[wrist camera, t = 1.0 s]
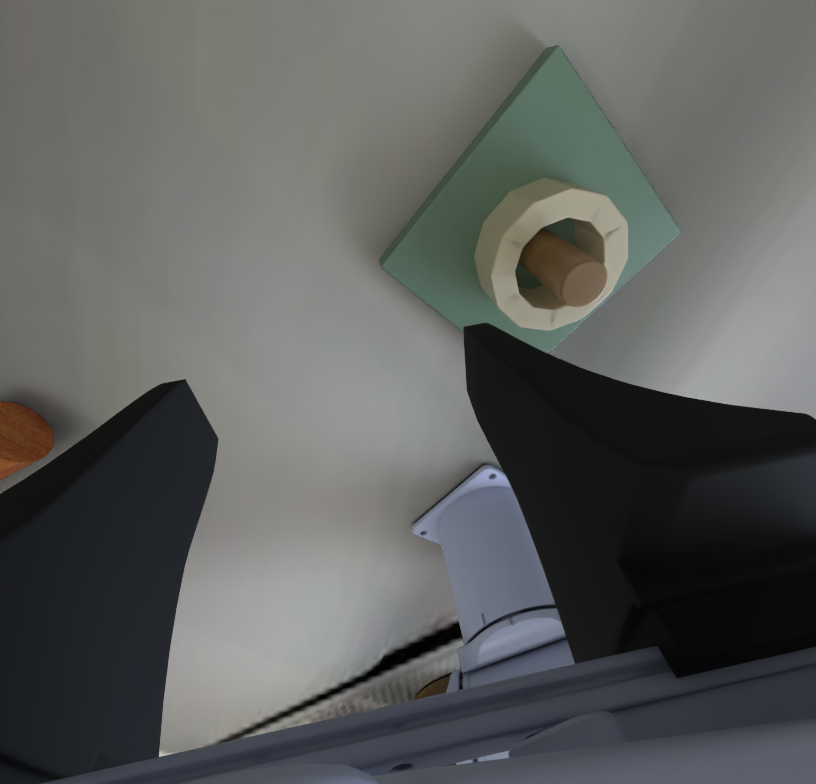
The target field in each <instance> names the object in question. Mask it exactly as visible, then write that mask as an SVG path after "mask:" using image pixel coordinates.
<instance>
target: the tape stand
mask: <svg viewBox="0 0 816 784" xmlns="http://www.w3.org/2000/svg"><path fill="white" fill-rule="evenodd" d="M541 178H550V179H554V180H559V181H563V182H568V183H573V184H577V185H580V186H583V187H586V188H588V189H591V190H594V191H597V192H600V193H603V194H606V195H607V196H608V197H609V198H610V199H611V201H612V202H613V203H614V205H615V206H616V207H617V209H618V210H619V211H620V213H621V214H622V216H623V217H624V218H625V220H626V221H627V223H628V259H627V262H626V264H625V266H624V268H623V270H622V272H621V274H620V276H619V278H618V280H617V282H616V284H615V286H614V288H613V290H612V292H611V293H610V294H609V295H608V296H607V297H606V298H605V299H604V300H603V301H602V302H601V303H599V304H598V305H597V306H596V307H595V308H594V309H593V310H592V311H591V312H590V313H589V314H587V315H586V316H585V317H584V318H582V319H580V320H578V321H575V322H572V323H569V324H567V325H564V326H561V327H559V328H556V329H553V330H550V331H547V330H539V329H530V328H522V327H519V326H517V325H516V324H515V323H514V322H513V321H512V320H511V319H510V318H508V317H507V316H506V315H505V314H504V313H503V312H502V311H500V310H499V309H498V308H497V306H496V305H495V304H494V303H493V301H492V300H491V299H490V298H489V296H488V295H487V294H486V292H485V291H484V290H483V289H482V287H481V286H480V282H479V278H478V273H477V269H476V265H475V261H474V254H475V250H476V247H477V243H478V239H479V236H480V232H481V229H482V225H483V223H484V221H485V219H486V218H487V217H488V216H489V215H490V213H491V212H492V211H493V210H494V209H495V208H496V207H497V205H498V204H499V203H500V202H501V201H502V200H503V199H504V197H505V196H506V195H507V194H508V193H509V192H510V191H512V190H514V189H517V188H519V187H522V186H524V185H526V184H529V183H531V182H534V181H536V180H539V179H541ZM680 232H681V230H680V228H679V227H678V225H677V224H676V222H675V221H674V219H673V218H672V216H671V215H670V213H669V212H668V210H667V209H666V207H665V206H664V204H663V203H662V201H661V200H660V198H659V197H658V195H657V194H656V192H655V191H654V189H653V187H652V186H651V184H650V183H649V181H648V180H647V178H646V177H645V175H644V174H643V172H642V171H641V169H640V168H639V166H638V165H637V163H636V162H635V160H634V159H633V157H632V156H631V154H630V153H629V151H628V150H627V148H626V147H625V145H624V144H623V142H622V140H621V139H620V137H619V136H618V134H617V133H616V131H615V130H614V128H613V127H612V125H611V124H610V122H609V121H608V119H607V118H606V116H605V115H604V113H603V112H602V110H601V109H600V107H599V106H598V104H597V103H596V101H595V100H594V98H593V96H592V95H591V93H590V92H589V90H588V89H587V87H586V86H585V84H584V83H583V81H582V80H581V78H580V77H579V75H578V74H577V72H576V71H575V69H574V68H573V66H572V65H571V63H570V62H569V60H568V59H567V57H566V56H565V54H564V52H563V51H562V49H561V48H560V46H558V45H557V46H553V47H549V48H547V49H546V50H545V51H544V52H543V53H542V55H541V56H540V57H539V58H538V60H537V61H536V62H535V64H534V65H533V66H532V67H531V69H530V70H529V71H528V72H527V74H526V75H525V76H524V77H523V79H522V80H521V81H520V82H519V84H518V85H517V86H516V87H515V89H514V90H513V91H512V93H511V94H510V95H509V96H508V98H507V99H506V100H505V101H504V103H503V104H502V105H501V106H500V108H499V109H498V110H497V111H496V113H495V114H494V115H493V116H492V118H491V119H490V120H489V122H488V123H487V124H486V125H485V127H484V128H483V129H482V130H481V132H480V133H479V134H478V135H477V137H476V138H475V139H474V140H473V142H472V143H471V144H470V146H469V147H468V148H467V149H466V151H465V152H464V153H463V154H462V156H461V157H460V158H459V159H458V161H457V162H456V163H455V164H454V166H453V167H452V168H451V169H450V171H449V172H448V173H447V175H446V176H445V177H444V178H443V180H442V181H441V182H440V183H439V185H438V186H437V187H436V188H435V190H434V191H433V192H432V193H431V195H430V196H429V197H428V198H427V200H426V201H425V202H424V204H423V205H422V206H421V207H420V209H419V210H418V211H417V212H416V214H415V215H414V216H413V217H412V219H411V220H410V221H409V222H408V224H407V225H406V226H405V228H404V229H403V230H402V231H401V233H400V234H399V235H398V236H397V238H396V239H395V240H394V241H393V243H392V244H391V245H390V246H389V248H388V249H387V250H386V251H385V253H384V254H383V255H382V257H381V258H380V259H379V262H380V266H381V268H382V269H384V270H385V271H386V272H387V273H389V274H390V275H391V276H393V277H394V278H395V279H396V280H398V281H399V282H400V283H401V284H403V285H404V286H405V287H406V288H408V289H409V290H410V291H412V292H413V293H414V294H415V295H417V296H418V297H419V298H420V299H422V300H423V301H424V302H425V303H427V304H428V305H429V306H431V307H432V308H433V309H434V310H436V311H437V312H438V313H439V314H441V315H442V316H443V317H444V318H446V319H447V320H448V321H449V322H451V323H452V324H453V325H455V326H456V327H457V328H458V329H460V330H461V331H462V332H463V333H464V330H463V327H465V326H470V325H475V324H481V323H489V324H491V325H493V326H495V327H497V328H499V329H501V330H503V331H505V332H507V333H508V334H510V335H512V336H514V337H516V338H518V339H520V340H521V341H523V342H525V343H527V344H529V345H531V346H533V347H535V348H537V349H539V350H541V351H543V352H545V353H547V354H548V353H549V352H550V351H551V350H552V349H553V348H554V347H555V346H556V345H557V344H559V343H560V342H561V341H562V340H563V339H564V338H565V337H566V336H567V335H568V334H570V333H571V332H572V331H573V330H574V329H575V328H576V327H577V326H578V325H579V324H581V323H582V322H583V321H584V320H585V319H586V318H587V317H588V316H589V315H590V314H592V313H593V312H594V311H595V310H596V309H597V308H598V307H599V306H600V305H601V304H603V303H604V302H605V301H606V300H607V299H608V298H609V297H610V296H611V295H612V294H613V293H615V292H616V291H617V290H618V289H619V288H620V287H621V286H622V285H623V284H624V283H626V282H627V281H628V280H629V279H630V278H631V277H632V276H633V275H634V274H635V273H637V272H638V271H639V270H640V269H641V268H642V267H643V266H644V265H645V264H646V263H648V262H649V261H650V260H651V259H652V258H653V257H654V256H655V255H656V254H657V253H659V252H660V251H661V250H662V249H663V248H664V247H665V246H666V245H667V244H668V243H669V242H671V241H672V240H673V239H674V238H675V237H676V236H677V235H678V234H679V233H680ZM575 245H576V242H575V230H574V223H573V222H572V220H571V219H570V218H565V219H562V220H560V221H557V222H555V223H552V224H550V225H547V226H544V227H542V228H541V229H540V230H539V231H538V232H537V233H536V234H535V235H534V236H533V237H532V239H531V240H530V241H529V242H528V243H527V244H526V245H525V246H524V247H523V249H522V252H521V255H520V258H519V261H518V264H517V267H516V270H515V275H516V280H517V286H518V287H523V288H530V289H533V288H536V287H538V286H541V285H545V286H546V287H547V288H548V289H549V290H550V291H552V292H553V293H554V294H555V295H556V296H557V297H558V298H560V299H561V300H562V301H563V302H564V303H565V304H567V305H568V306H571V307H583V306H586V305H589V304H590V303H592V302H594V301H595V300H596V299H597V298H598V297H599V296H600V295H601V294H602V292H603V291H604V289H605V287H606V285H607V281H608V273H607V269H606V267H605V266H604V264H603V263H602V262H600V261H598V260H597V259H595V258H593V257H592V256H590V255H588V254H587V253H585V252H584V251H582V250H580V249H579V248H577V247H575Z"/></svg>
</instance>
